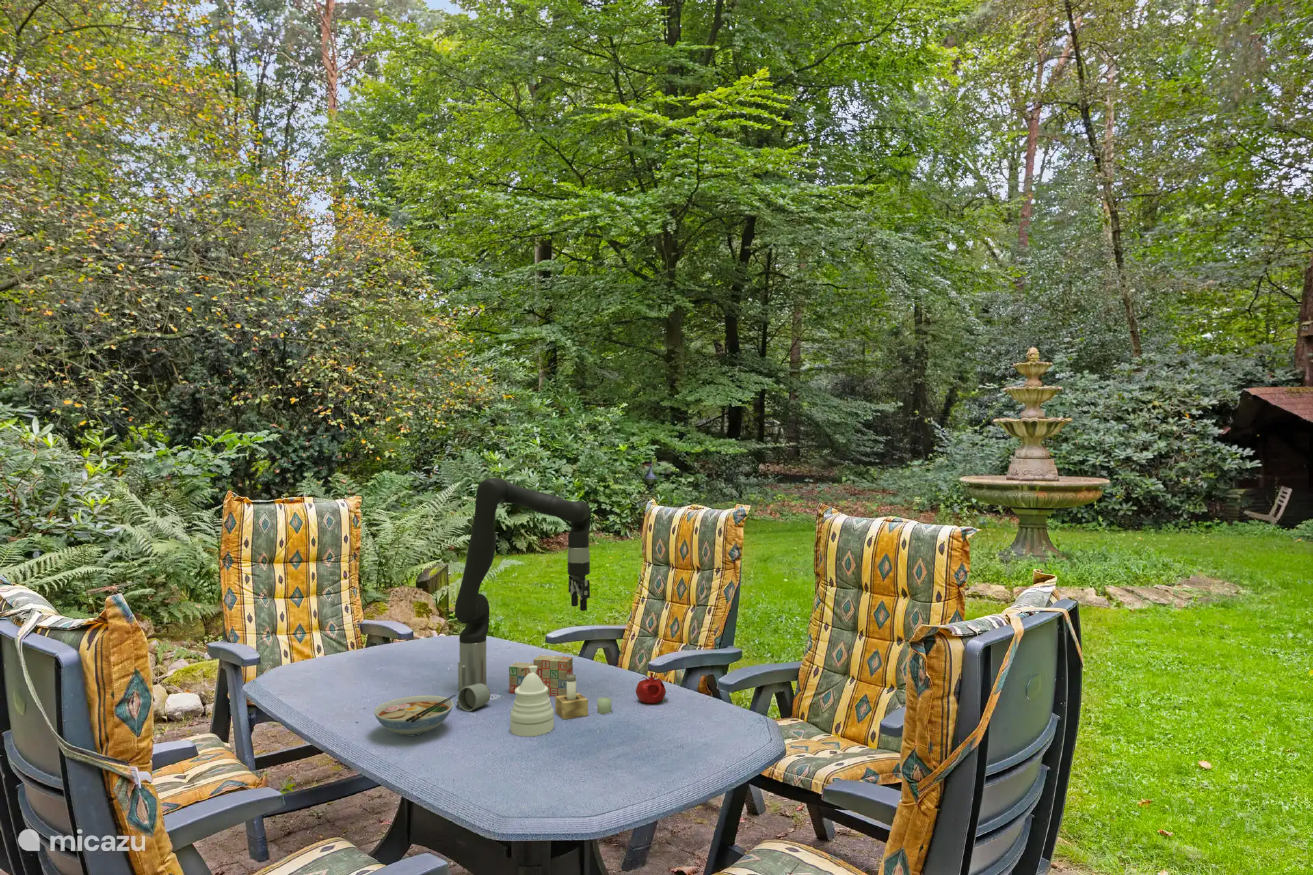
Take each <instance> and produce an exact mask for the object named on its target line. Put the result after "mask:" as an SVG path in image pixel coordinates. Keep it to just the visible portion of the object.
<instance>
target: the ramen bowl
mask: <svg viewBox="0 0 1313 875" xmlns="http://www.w3.org/2000/svg"><path fill="white" fill-rule="evenodd" d="M456 696H457V694H453V695H451V696H449V697H445V696H439V695H426V694H425V695H424V694H423V695H411V696H405V697H400V698H396V699H391V700H389V701H385V702H383V703H380V704H379V705H378V706H377V707H375V708H374V713H373V715H374V716H375V718H376V720H378V723H380V725H381V726H382V727H383V728H385V729H387V730H388V731H390V732H392V733H395V734H400V735H402V736H406V735H415V736H419V735H418V734H420V735H423V734H425V733H427V732H428V731H431V730H434V729H435V728H437V727H439V726H440V725H441V724H442V723H443V722H444V721H445V720H446V719H447V718H448V716H449V715H450V713H451V712H452V709H453V707H454V701H453V700H452V699H453V698H455V697H456ZM422 733H423V734H422Z"/></svg>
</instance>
